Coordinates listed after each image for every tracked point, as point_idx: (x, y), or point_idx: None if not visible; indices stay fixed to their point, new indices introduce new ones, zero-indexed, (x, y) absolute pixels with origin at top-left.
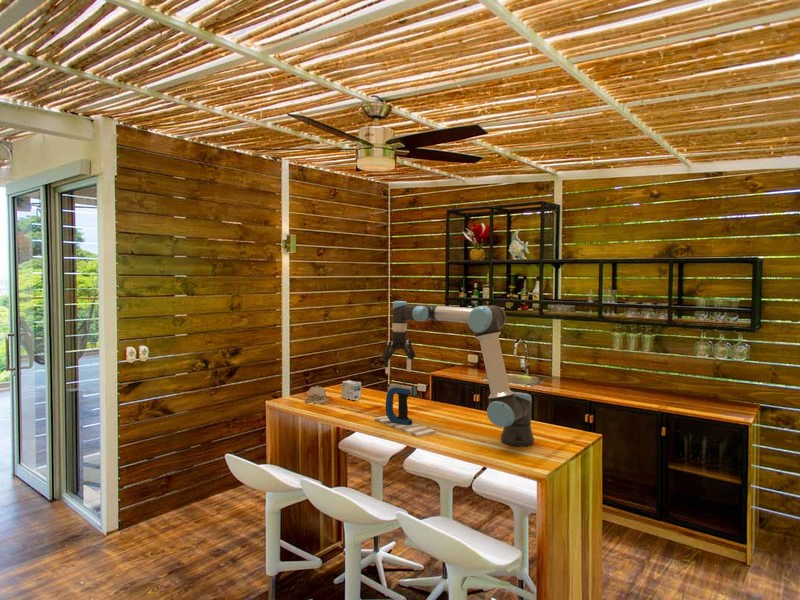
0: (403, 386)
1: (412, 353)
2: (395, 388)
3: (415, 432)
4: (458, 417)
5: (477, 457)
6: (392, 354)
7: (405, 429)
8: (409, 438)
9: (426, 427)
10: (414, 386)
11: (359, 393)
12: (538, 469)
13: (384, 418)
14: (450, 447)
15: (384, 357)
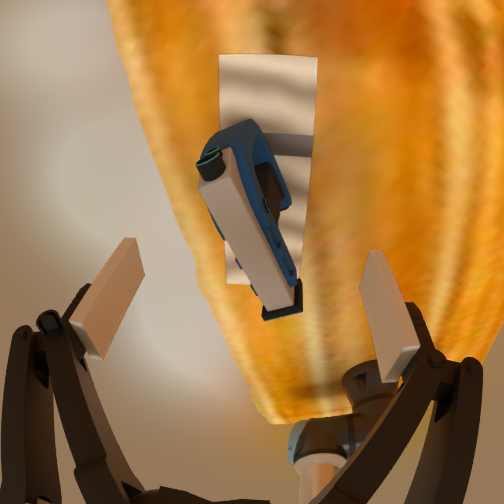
0: (246, 272)
1: (428, 431)
2: (216, 227)
3: (235, 269)
4: (474, 211)
5: (247, 384)
6: (108, 425)
7: None
8: (203, 275)
9: (299, 252)
10: (285, 314)
11: None
12: (279, 419)
13: (250, 82)
14: (245, 349)
15: (36, 375)
